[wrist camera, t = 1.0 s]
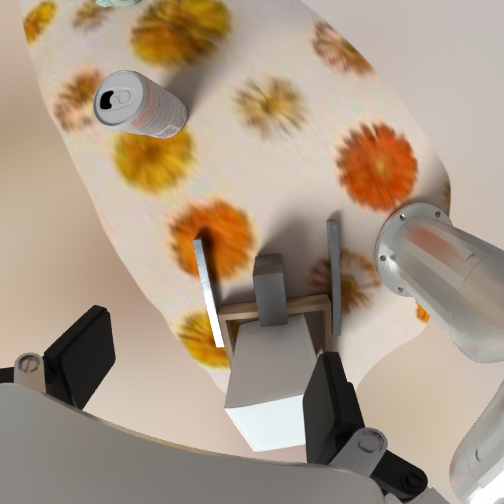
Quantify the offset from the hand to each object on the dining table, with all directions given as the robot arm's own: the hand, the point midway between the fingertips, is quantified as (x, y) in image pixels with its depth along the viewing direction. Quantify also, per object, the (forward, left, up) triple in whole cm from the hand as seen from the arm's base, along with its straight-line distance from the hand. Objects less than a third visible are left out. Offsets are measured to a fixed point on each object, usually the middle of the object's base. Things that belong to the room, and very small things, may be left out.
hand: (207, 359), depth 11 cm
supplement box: (-2, +16, -23) cm, 28 cm away
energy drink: (+8, -15, -23) cm, 29 cm away
